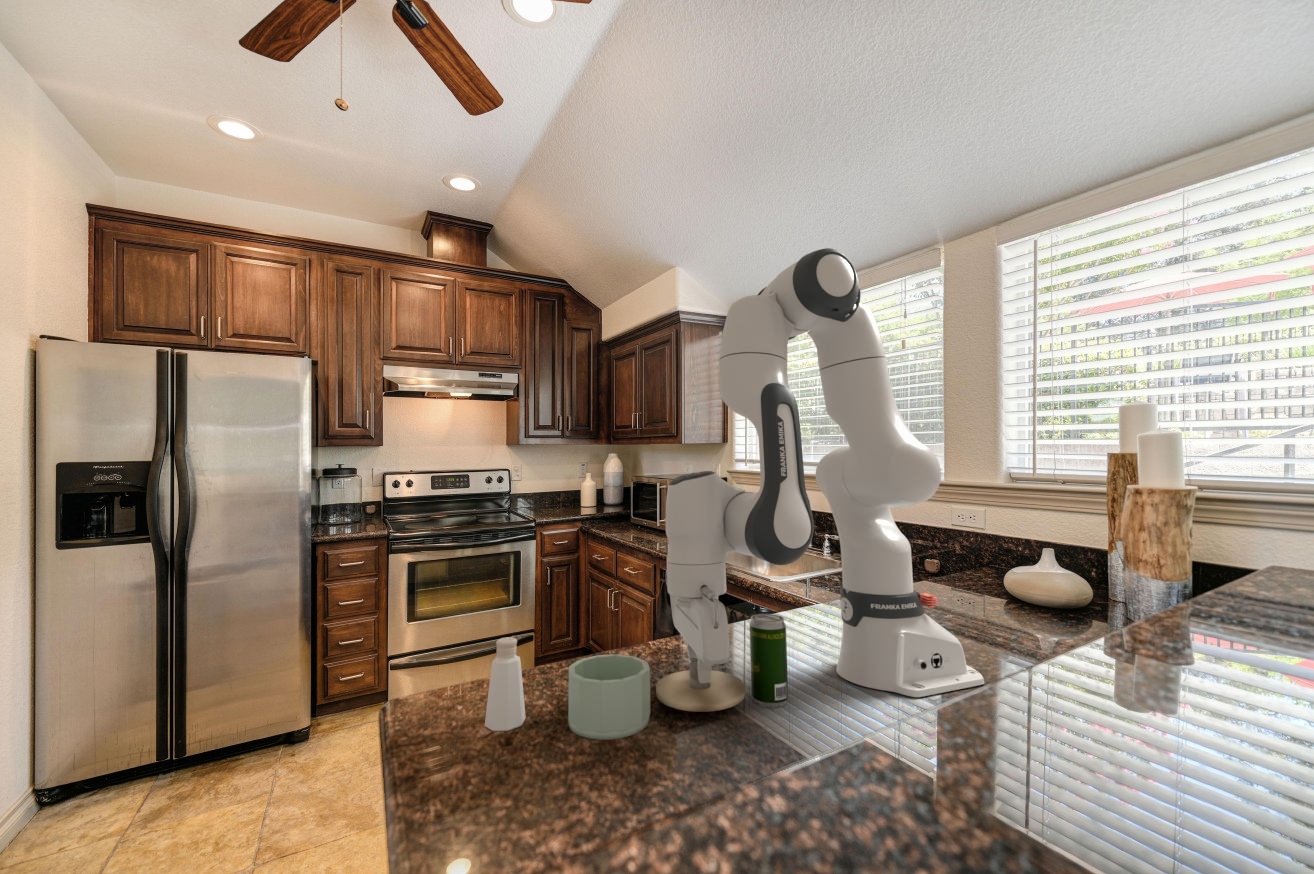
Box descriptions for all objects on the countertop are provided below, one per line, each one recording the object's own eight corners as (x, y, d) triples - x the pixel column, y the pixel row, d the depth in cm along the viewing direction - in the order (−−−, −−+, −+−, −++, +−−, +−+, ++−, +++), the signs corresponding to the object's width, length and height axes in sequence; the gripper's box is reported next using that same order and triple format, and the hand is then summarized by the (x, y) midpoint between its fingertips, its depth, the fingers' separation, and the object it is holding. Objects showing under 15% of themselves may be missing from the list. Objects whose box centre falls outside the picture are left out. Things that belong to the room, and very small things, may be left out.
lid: (729, 672, 84) (728, 647, 85) (758, 706, 71) (757, 675, 72) (649, 680, 82) (649, 654, 82) (665, 716, 69) (664, 684, 70)
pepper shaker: (509, 734, 68) (510, 647, 69) (475, 727, 70) (477, 642, 71) (533, 717, 73) (534, 636, 74) (501, 711, 75) (503, 632, 76)
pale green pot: (643, 700, 78) (642, 652, 78) (655, 735, 67) (654, 678, 68) (568, 706, 76) (568, 657, 77) (568, 743, 65) (568, 685, 66)
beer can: (796, 701, 77) (793, 618, 78) (772, 711, 74) (770, 624, 75) (767, 690, 81) (764, 611, 82) (743, 700, 78) (741, 617, 79)
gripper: (739, 592, 68) (744, 702, 67) (699, 568, 89) (702, 652, 87) (692, 595, 67) (696, 707, 66) (663, 570, 87) (665, 655, 86)
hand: (699, 675), depth 77 cm, fingers closed on lid, 3 cm apart
